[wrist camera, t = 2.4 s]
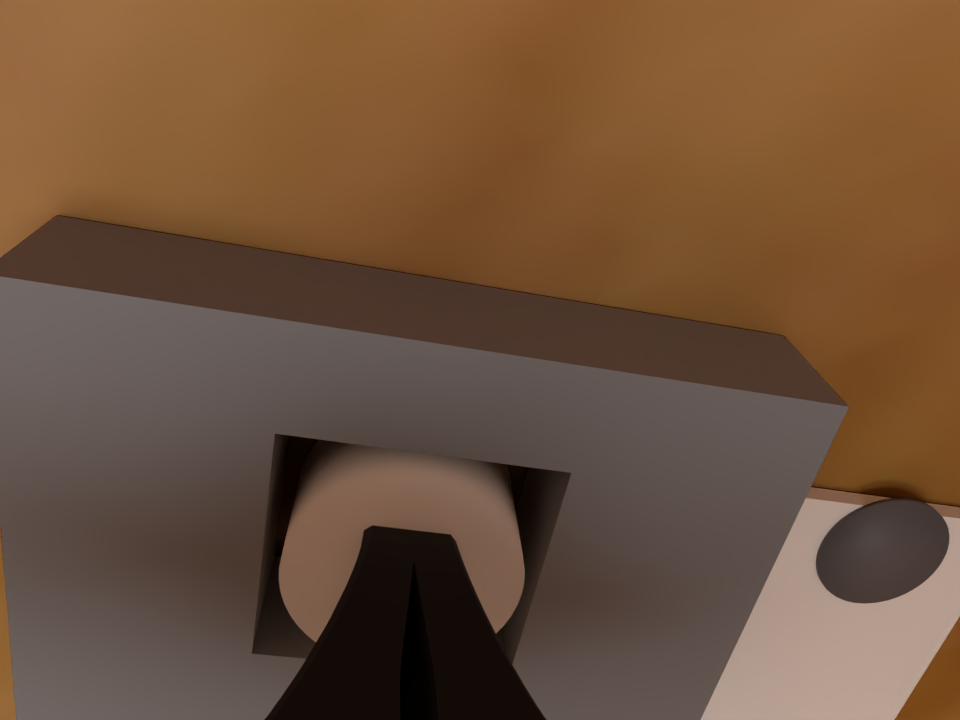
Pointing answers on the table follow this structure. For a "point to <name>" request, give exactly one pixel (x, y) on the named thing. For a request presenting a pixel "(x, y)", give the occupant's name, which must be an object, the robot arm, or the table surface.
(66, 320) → the button board
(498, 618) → the button
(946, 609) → the pattern card
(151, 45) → the table surface
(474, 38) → the table surface
